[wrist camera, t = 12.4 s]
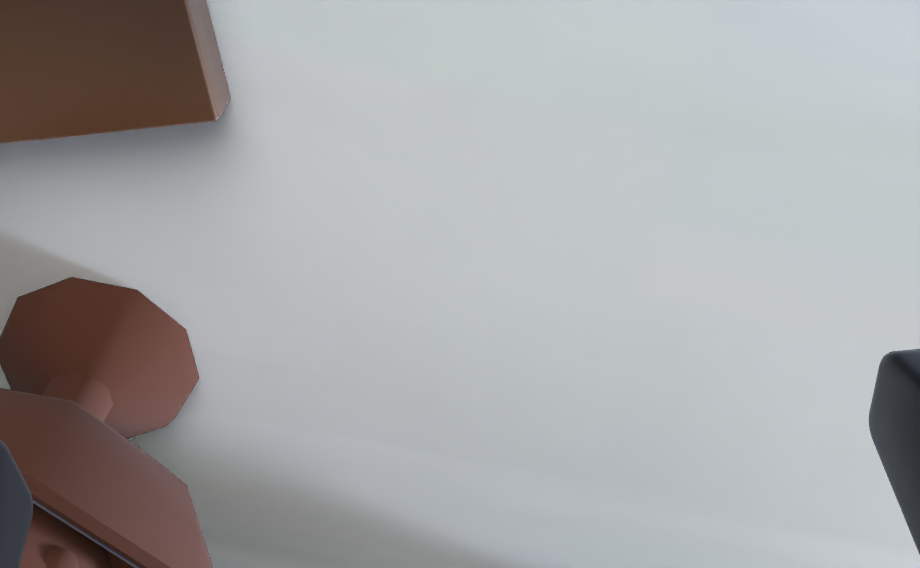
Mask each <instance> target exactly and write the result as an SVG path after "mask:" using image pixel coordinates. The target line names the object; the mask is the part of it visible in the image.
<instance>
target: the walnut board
mask: <svg viewBox="0 0 920 568" xmlns="http://www.w3.org/2000/svg"><path fill="white" fill-rule="evenodd" d="M229 101H230V93H229V89H228V85H227V81H226V77H225V73H224V69H223V65H222V62H221V58H220V54H219V50H218V46H217V42H216V38H215V34H214V30H213V26H212V22H211V18H210V14H209V10H208V6H207V2H206V0H0V144H3V143H13V142H22V141H31V140H41V139H50V138H60V137H69V136H79V135H88V134H98V133H107V132H117V131H126V130H136V129H145V128H155V127H164V126H174V125H183V124H193V123H202V122H212V121H217V120H218V119H219V117H220V116H221V114H222V112H223V111H224V109H225V107H226V106H227V104H228V103H229Z"/></svg>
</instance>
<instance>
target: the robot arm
mask: <svg viewBox="0 0 920 568" xmlns="http://www.w3.org/2000/svg"><path fill="white" fill-rule="evenodd" d="M869 427H870V432H871V436H872V439H873V442H874V444H875V447H876V449H877V451H878V454H879V456H880V459H881V461H882V464H883V466H884V469H885V471H886V473H887V476H888V478H889V481H890V483H891V486H892V488H893V491H894V493H895V495H896V498H897V500H898V503H899V505H900V508H901V510H902V513H903V515H904V518H905V520H906V522H907V525H908V527H909V530H910V532H911V535H912V537H913V540H914V542H915V544H916V547H917V549H918V552H919V554H920V349H913V350H903V351H893V352H890V353H888V354H886V355H885V356H884V357H883V359H882V360H881V363H880V366H879V370H878V375H877V379H876V384H875V389H874V393H873V398H872V403H871V408H870V413H869ZM32 515H33V500H32V495H31V492H30V490H29V488H28V486H27V484H26V482H25V480H24V478H23V476H22V474H21V472H20V470H19V468H18V467H17V465H16V463H15V461H14V459H13V457H12V455H11V453H10V451H9V449H8V447H7V446H6V444H5V443H3V442H2V441H1V440H0V568H19V564H20V561H21V557H22V553H23V549H24V546H25V542H26V538H27V535H28V531H29V527H30V523H31V520H32Z"/></svg>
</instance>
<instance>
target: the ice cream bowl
mask: <svg viewBox="0 0 920 568" xmlns="http://www.w3.org/2000/svg"><path fill="white" fill-rule="evenodd" d="M0 364H1V367H2V369H3V371H4V374H5V376H6V378H7V381H8V383H9V385H10V388H11V390H9V389H3V388H0V440H1V441H2V442H3V443H5V444H6V446H7V447H8V449H9V451H10V453H11V455H12V457H13V459H14V461H15V463H16V465H17V467H18V468H19V470H20V472H21V474H22V476H23V478H24V480H25V482H26V484H27V486H28V488H29V490H30V492H31V495H32V500H33V515H32V520H31V523H30V527H29V531H28V535H27V538H26V542H25V546H24V549H23V553H22V557H21V561H20V564H19V568H213V567H212V564H211V561H210V557H209V554H208V551H207V548H206V545H205V542H204V538H203V535H202V532H201V529H200V526H199V522H198V519H197V516H196V513H195V510H194V507H193V503H192V500H191V497H190V494H189V491H188V487H187V485H186V484H184V483H183V482H182V481H181V480H180V479H178V478H177V477H176V476H175V475H174V474H172V473H171V472H170V471H169V470H168V469H166V468H165V467H164V466H163V465H162V464H160V463H159V462H158V461H157V460H155V459H154V458H153V457H151V456H150V455H148V454H147V453H146V452H144V451H143V450H141V449H140V448H139V447H137V446H136V445H134V444H133V443H132V442H130V441H129V440H127V439H128V438H130V437H133V436H136V435H139V434H142V433H145V432H148V431H151V430H154V429H157V428H160V427H163V426H166V425H167V424H168V423H170V422H171V421H172V420H173V419H174V418H175V417H176V415H177V414H178V412H179V410H180V409H181V407H182V405H183V404H184V402H185V400H186V399H187V397H188V395H189V394H190V392H191V390H192V389H193V387H194V385H195V384H196V382H197V381H198V379H199V376H198V372H197V368H196V365H195V361H194V358H193V354H192V350H191V347H190V343H189V340H188V336H187V332H186V329H184V328H183V327H182V326H181V325H179V324H178V323H177V322H176V321H175V320H173V319H172V318H171V317H170V316H168V315H167V314H166V313H165V312H163V311H162V310H161V309H160V308H159V307H157V306H156V305H155V304H154V303H152V302H151V301H150V300H149V299H148V298H146V297H145V296H144V295H143V294H141V293H140V292H139V291H138V290H134V289H129V288H124V287H119V286H114V285H109V284H104V283H99V282H94V281H89V280H84V279H78V278H73V277H71V278H68V279H65V280H63V281H60V282H57V283H55V284H52V285H49V286H47V287H44V288H41V289H39V290H36V291H34V292H31V293H28V294H26V295H23V296H20V297H18V298H17V300H16V302H15V305H14V307H13V309H12V312H11V314H10V316H9V318H8V321H7V323H6V325H5V327H4V330H3V332H2V334H1V337H0Z"/></svg>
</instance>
